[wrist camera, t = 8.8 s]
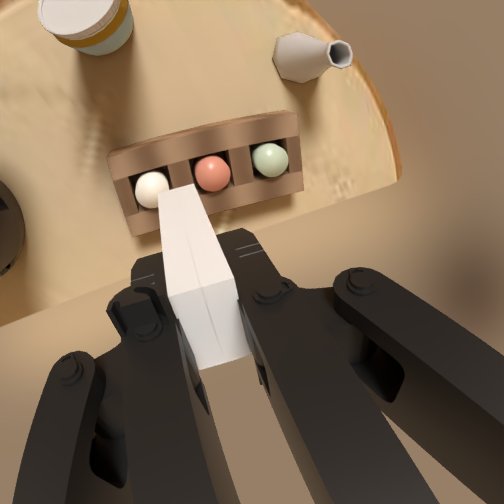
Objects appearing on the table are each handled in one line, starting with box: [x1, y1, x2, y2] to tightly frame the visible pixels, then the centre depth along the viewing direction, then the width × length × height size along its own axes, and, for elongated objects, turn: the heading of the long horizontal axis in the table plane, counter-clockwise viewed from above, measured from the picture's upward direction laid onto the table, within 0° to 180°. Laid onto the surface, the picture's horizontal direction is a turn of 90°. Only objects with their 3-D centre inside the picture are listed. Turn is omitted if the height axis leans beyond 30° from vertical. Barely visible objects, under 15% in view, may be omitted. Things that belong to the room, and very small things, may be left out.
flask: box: [273, 32, 353, 84], centre depth 30 cm, size 7×7×10 cm
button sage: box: [250, 141, 288, 177], centre depth 37 cm, size 4×4×4 cm
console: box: [107, 110, 304, 237], centre depth 37 cm, size 22×10×4 cm, turn 98°
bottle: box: [38, 0, 134, 56], centre depth 20 cm, size 7×7×15 cm
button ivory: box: [135, 168, 169, 208], centre depth 34 cm, size 4×4×4 cm
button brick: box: [193, 153, 230, 192], centre depth 36 cm, size 4×4×4 cm
